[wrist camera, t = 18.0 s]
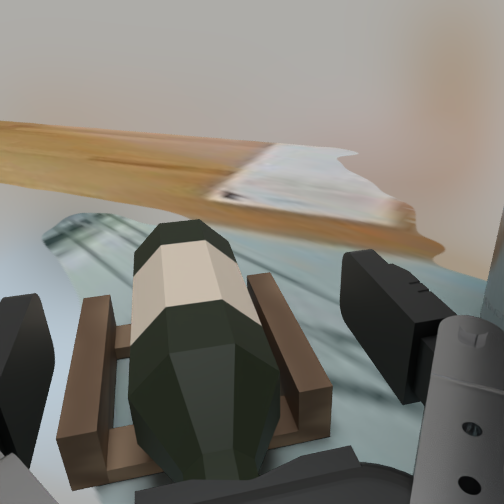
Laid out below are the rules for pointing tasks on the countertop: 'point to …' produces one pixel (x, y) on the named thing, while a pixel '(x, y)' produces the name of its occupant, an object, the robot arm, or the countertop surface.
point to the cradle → (123, 438)
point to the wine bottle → (199, 359)
